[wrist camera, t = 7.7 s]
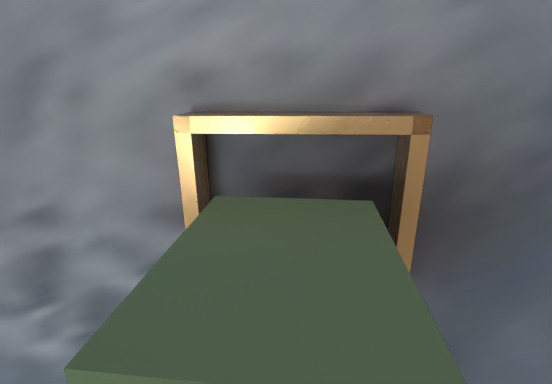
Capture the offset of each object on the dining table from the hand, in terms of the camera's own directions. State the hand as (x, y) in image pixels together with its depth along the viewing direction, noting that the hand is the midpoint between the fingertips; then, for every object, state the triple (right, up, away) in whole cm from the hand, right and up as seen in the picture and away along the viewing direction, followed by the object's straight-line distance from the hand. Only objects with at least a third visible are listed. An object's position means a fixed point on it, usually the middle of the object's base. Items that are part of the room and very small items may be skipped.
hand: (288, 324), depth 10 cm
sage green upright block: (0, 0, +1) cm, 1 cm away
